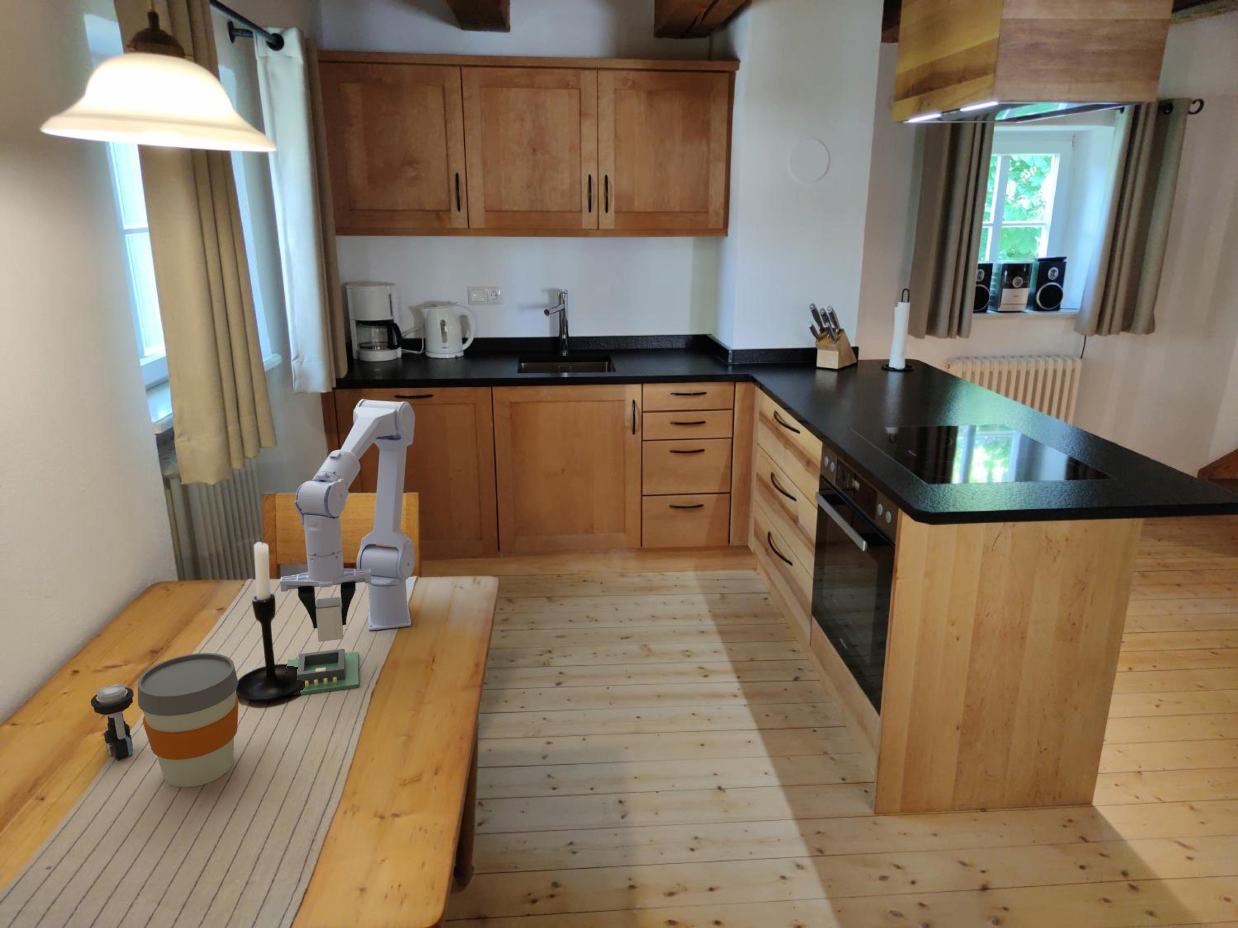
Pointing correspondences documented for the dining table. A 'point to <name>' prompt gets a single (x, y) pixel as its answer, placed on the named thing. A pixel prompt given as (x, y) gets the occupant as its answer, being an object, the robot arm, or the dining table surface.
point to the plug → (329, 619)
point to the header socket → (327, 670)
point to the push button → (115, 718)
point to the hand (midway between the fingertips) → (330, 624)
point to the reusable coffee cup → (191, 716)
